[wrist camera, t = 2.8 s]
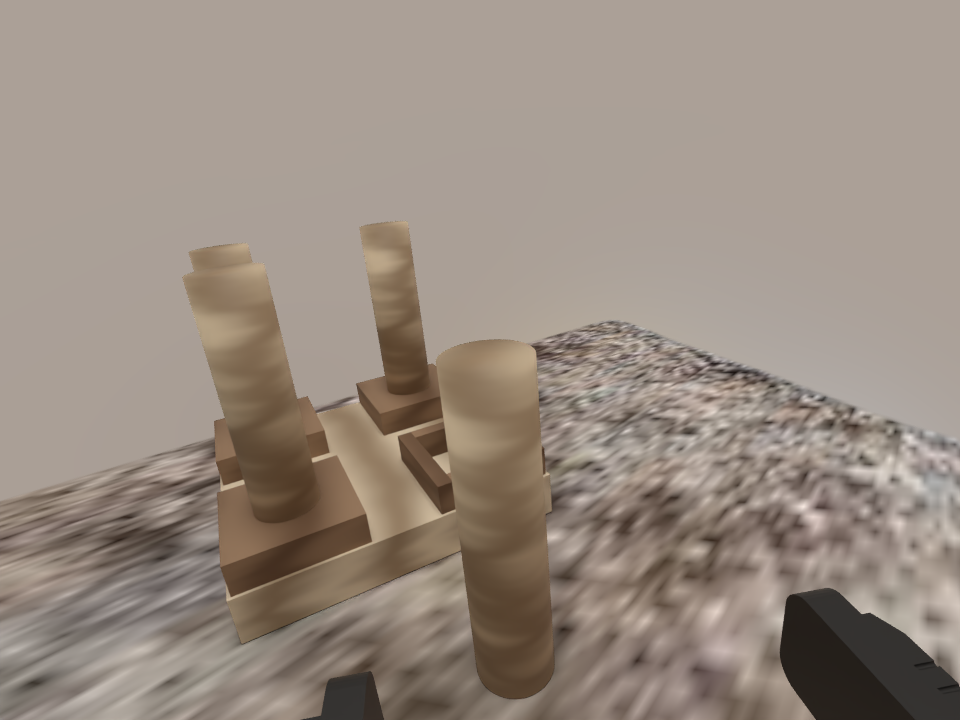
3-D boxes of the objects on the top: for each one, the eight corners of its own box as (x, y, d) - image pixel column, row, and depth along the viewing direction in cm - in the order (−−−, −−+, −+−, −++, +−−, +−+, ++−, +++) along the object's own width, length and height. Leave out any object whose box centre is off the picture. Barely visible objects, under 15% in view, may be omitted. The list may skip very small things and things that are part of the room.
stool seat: (241, 644, 28) (121, 300, 21) (227, 472, 45) (158, 251, 38) (551, 511, 36) (536, 230, 29) (439, 408, 53) (413, 216, 46)
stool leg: (474, 699, 24) (429, 378, 18) (478, 629, 27) (442, 343, 22) (557, 698, 23) (538, 371, 18) (551, 627, 27) (533, 336, 21)
